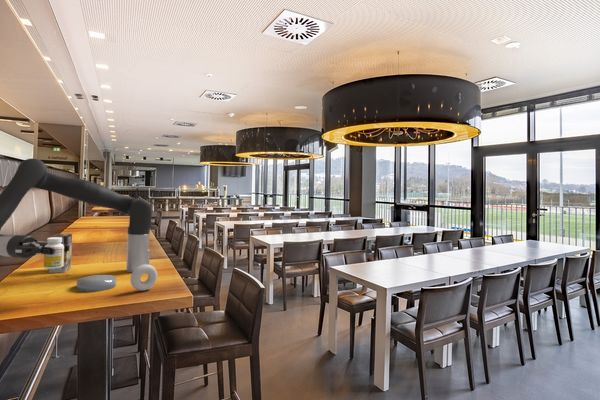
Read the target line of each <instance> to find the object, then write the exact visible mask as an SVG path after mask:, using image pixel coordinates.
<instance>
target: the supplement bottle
mask: <svg viewBox="0 0 600 400" xmlns="http://www.w3.org/2000/svg"><path fill="white" fill-rule="evenodd" d="M46 242H47V243H48V244H47V245H45V247H52V248H54V249H55V253H54V254H53V255H49V254H43V267H44V269H45V270H46V269H48V270H49V269H55V268H61V267H63V266H64V245H63V244H61V242H62V238H61V237H52V238H50V237H48V238H46Z"/></svg>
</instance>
